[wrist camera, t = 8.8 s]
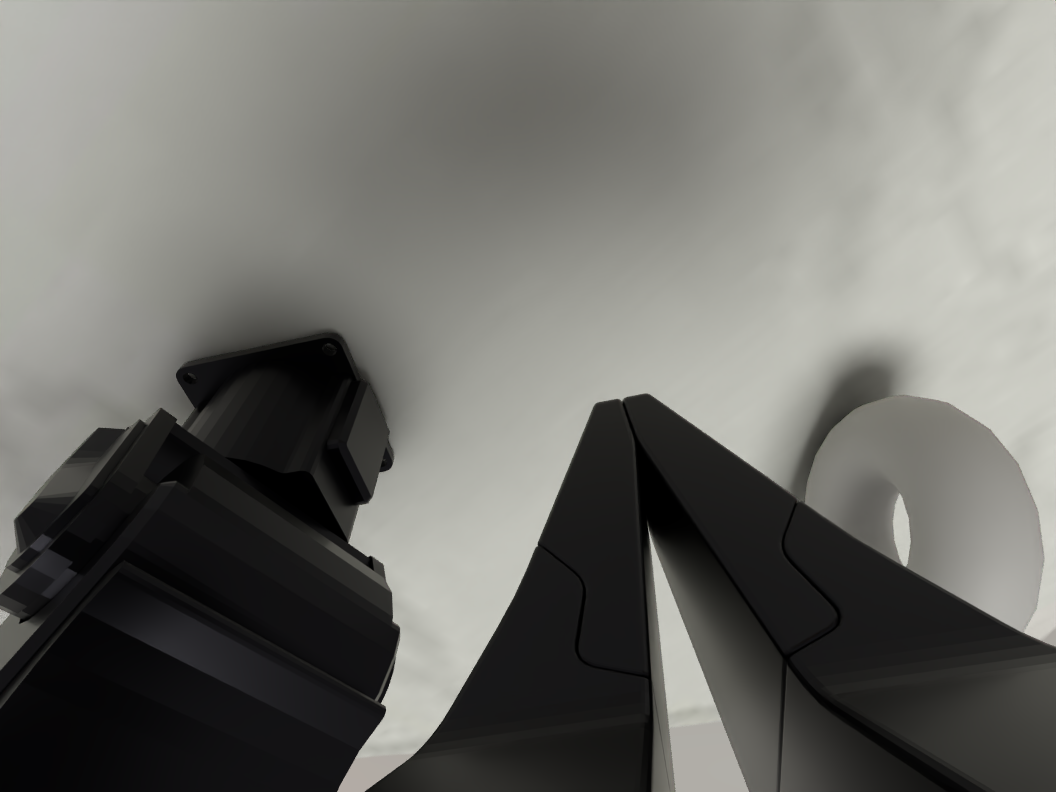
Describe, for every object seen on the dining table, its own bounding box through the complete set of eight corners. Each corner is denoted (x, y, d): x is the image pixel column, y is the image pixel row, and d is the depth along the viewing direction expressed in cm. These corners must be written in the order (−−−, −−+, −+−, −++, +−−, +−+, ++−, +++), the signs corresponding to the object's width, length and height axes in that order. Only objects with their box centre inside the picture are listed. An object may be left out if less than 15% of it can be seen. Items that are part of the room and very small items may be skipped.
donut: (841, 343, 23) (1032, 533, 15) (925, 348, 23) (1159, 537, 15) (764, 526, 29) (872, 741, 20) (833, 529, 29) (968, 741, 21)
